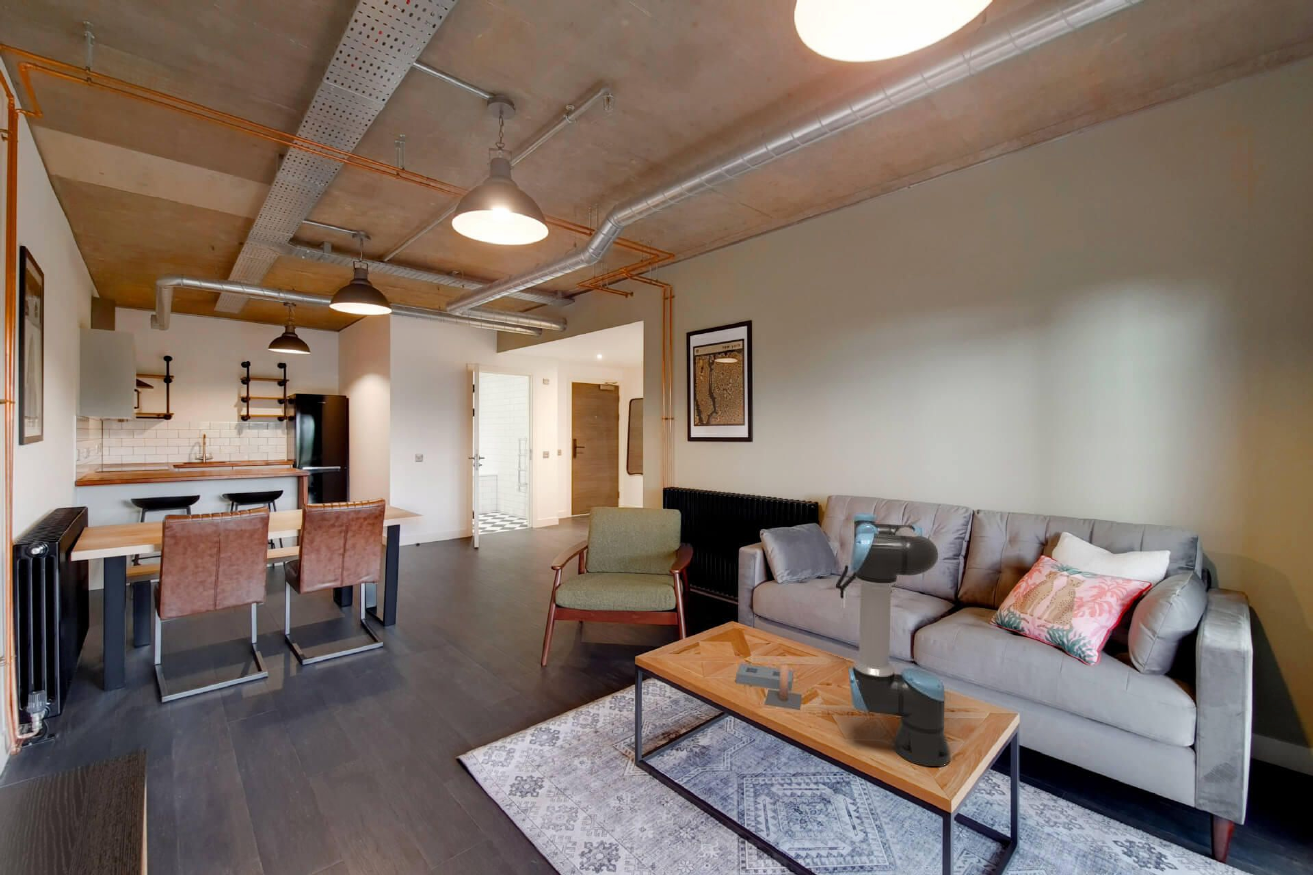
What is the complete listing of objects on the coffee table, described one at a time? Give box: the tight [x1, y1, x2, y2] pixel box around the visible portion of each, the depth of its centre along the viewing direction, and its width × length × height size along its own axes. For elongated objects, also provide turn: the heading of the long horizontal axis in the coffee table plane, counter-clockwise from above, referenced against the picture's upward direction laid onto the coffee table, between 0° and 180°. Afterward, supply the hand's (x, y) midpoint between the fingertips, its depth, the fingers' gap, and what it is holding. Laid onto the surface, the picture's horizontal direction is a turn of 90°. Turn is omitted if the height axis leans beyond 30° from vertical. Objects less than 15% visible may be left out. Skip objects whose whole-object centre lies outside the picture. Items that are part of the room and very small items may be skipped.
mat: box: [764, 688, 803, 711], centre depth 199 cm, size 12×12×1 cm
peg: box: [778, 663, 790, 701], centre depth 199 cm, size 3×3×12 cm
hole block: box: [735, 662, 794, 693], centre depth 213 cm, size 10×20×4 cm, turn 72°
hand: (862, 608), depth 217 cm, fingers open, 13 cm apart
